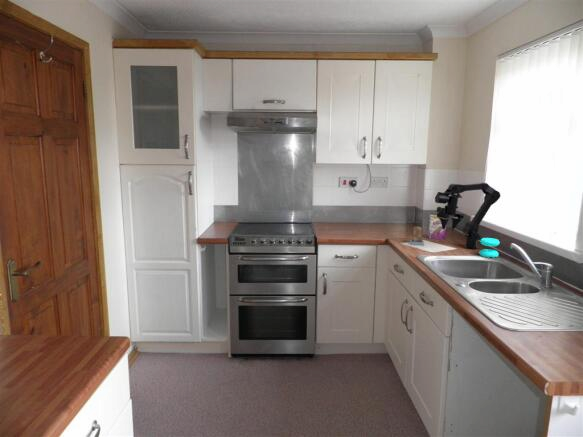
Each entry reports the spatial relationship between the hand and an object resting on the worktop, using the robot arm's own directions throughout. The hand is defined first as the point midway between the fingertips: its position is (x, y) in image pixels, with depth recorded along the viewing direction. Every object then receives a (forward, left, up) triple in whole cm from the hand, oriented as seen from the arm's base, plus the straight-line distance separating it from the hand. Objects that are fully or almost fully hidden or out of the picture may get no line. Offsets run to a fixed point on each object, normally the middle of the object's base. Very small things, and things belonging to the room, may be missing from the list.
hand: (448, 229), depth 246 cm
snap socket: (+11, -14, -11) cm, 21 cm away
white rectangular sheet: (+9, -7, -12) cm, 17 cm away
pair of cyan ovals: (-7, +24, -13) cm, 28 cm away
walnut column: (+11, -15, -11) cm, 21 cm away
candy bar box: (-17, -24, -13) cm, 32 cm away
